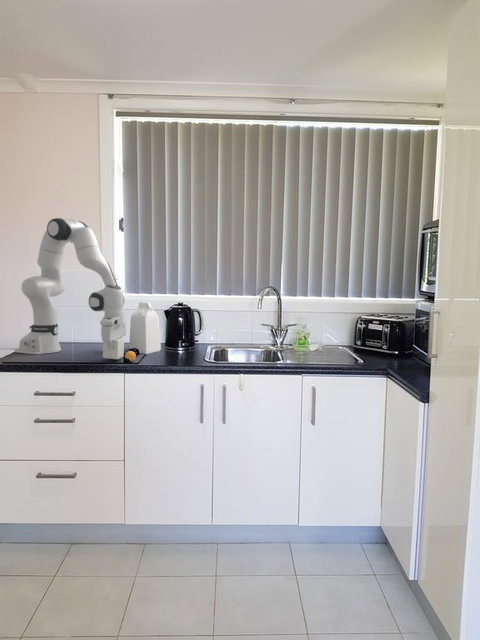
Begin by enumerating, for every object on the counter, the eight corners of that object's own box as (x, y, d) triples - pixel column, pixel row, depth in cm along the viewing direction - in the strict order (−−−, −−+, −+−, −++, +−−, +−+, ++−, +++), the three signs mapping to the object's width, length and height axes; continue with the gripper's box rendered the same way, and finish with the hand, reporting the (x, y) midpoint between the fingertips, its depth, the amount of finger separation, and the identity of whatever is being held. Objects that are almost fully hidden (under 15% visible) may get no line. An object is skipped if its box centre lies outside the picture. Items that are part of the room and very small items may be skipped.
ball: (131, 350, 215) (134, 361, 215) (135, 348, 220) (138, 358, 220) (122, 353, 216) (125, 363, 216) (126, 351, 221) (129, 361, 221)
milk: (160, 350, 246) (160, 302, 243) (146, 353, 236) (145, 303, 233) (144, 347, 252) (143, 301, 249) (129, 351, 242) (128, 302, 239)
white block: (102, 357, 216) (103, 339, 215) (109, 354, 223) (109, 336, 222) (117, 359, 215) (118, 340, 214) (123, 356, 222) (124, 338, 221)
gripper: (116, 316, 228) (117, 343, 229) (98, 321, 207) (99, 351, 209) (129, 317, 227) (129, 344, 228) (111, 322, 207) (112, 352, 208)
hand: (114, 348), depth 219 cm, fingers closed on white block, 7 cm apart
